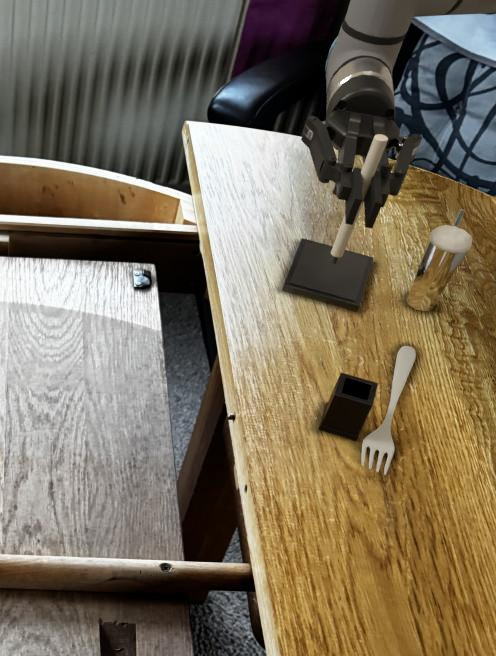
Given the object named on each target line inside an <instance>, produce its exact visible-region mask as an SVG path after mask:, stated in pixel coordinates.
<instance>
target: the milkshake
mask: <svg viewBox="0 0 496 656" xmlns="http://www.w3.org/2000/svg"><path fill="white" fill-rule="evenodd" d="M465 211H466V209H465V210H464V209H462V208H461V209H460V210H459V212H458V214H457V217H456V218H455V221H454V223H453V225H449V224H443V225H439V226H437V227H435V228H434V229H432V230H431V232H430V233H429V236H428V239H427V241H426V245H425V248H424V250H423V253H422V257H421V261H420V264H419V266H418V269H417V271H416V274H415V276H414V279H413V281H412V284H411V286H410V290H409V292H408V295H407V298H406V302H407V304H408V305H409V307H411V308H413V309H415V310H417V311H423V312H424V311H425V312H427V311H430V310H433V309H434V307H435V306H436V304H437V302H438V301H439V299H440V297H441V296H442V294H443V293H444V292H445V289H446V288H447V286H448V284H449V282H450V281H451V279H452V277H453V276H454V274H455V272H456V271H457V270H458V268H459V266H460V265H461V263H462V262H463V260H464V258H465V256H466V255H467V253H468V252H469V251H470V248H471V247H472V244H473V238H472V235H470V234H469V233H468V232H467V231H466V230H465V229H464V228H460V227H459V224H460V222H461V220H462V218H463V216H464V213H465Z"/></svg>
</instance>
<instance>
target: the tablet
mask: <svg viewBox="0 0 496 656" xmlns="http://www.w3.org/2000/svg"><path fill="white" fill-rule="evenodd" d="M332 247H333V245H329V244H325V243H322V242H317V241H315V240H312V239H307V238H303V237H301V239H300V242H299V244H298V246H297V249H296V251H295V254H294V257H293V260H292V262H291V264H290V267H289V270H288V272H287V275H286V277H285V281H284V283H283V286H282V289H281V291H282V292H286V293H290V294H294V295H297V296H300V297H304V298H307V299H311V300H314V301H319V302H322V303H325V304H329V305H331V306H336V307H339V308H343V309H346V310H350V311H353V312H359V309H360V307H361V303H362V300H363V296H364V292H365V291H366V290H365V289H366V286H367V283H368V279H369V276H370V272H371V269H372V266H373V262H374V258H375V257H373V256H370V255H366V254H363V253H358V252H355V251H352V250H347V249H345V251H344V254H343V256H342V257H339V258H338V261H337V263H336V264H333V263H331V259H332V255H331V250H332Z"/></svg>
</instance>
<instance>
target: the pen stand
mask: <svg viewBox="0 0 496 656" xmlns="http://www.w3.org/2000/svg"><path fill="white" fill-rule="evenodd" d="M378 385H379V383H378V382H376V381H372V380H369V379H365V378H362V377H358V376H356V375H355V376H354V375H352V374H348V373H345V372H340V374H339V376H338V378H337V381H336V383H335V385H334V387H333V389H332V392H331V394H330V397H329V399H328V401H326V403H325V405H324V408H323V412H322V415H321V419H320V421H319V425H318V430H320V431H323V432H325V433H328V434H332V435H335V436H338V437H342V438H345V439H348V440H352V441H355V442H357V441H358V440H359V437H360V433H361V431H362V429H363V426H364V425H365V422H366V421H367V418H368V417H369V414H370V413H371V411H372V408H373V406H374V402H375V398H376V397H375V396H376V394H377V390H378Z"/></svg>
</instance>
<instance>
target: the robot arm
mask: <svg viewBox="0 0 496 656" xmlns="http://www.w3.org/2000/svg"><path fill="white" fill-rule="evenodd" d="M459 15H488V16H492V15H496V0H350V1H349V4H348V8H347V11H346V14H345V16H344V18H343V21H342V23H341V26H340V30H339V32H338V35H337V36H336V38H335V39H334V41H333V42H332V44H331V46H330V48H329V52H328V55H327V59H326V61H325V68H324V71H325V79H326V82H325V83H326V84H325V85H326V113H325V120H323V121H321V120H320V118H318V117H317V116H315V115H309V116H307V119H306V122H305V126H304V128H303V132H302V135H301V139H300V140H301V142H302V143H303V144H304V145H305V146H306V147H307V148H308V150H309V153H310V157H311V160H312V163H313V167H314V170H315V173H316V177H317V180H318V181H319V182H320V183H321V184H329V183H330V182H333V183H334V187H333V189H332V194H333V195H334V196H336V198H337V200H340V201H344V211H345V212H344V216H345V224H349V225H353V223H354V220H355V218H356V215H357V213H358V210H359V207H360V205H361V202H362V176H361V171H362V167H356V166H355V162H356V156H360V157H361V159H362V164H363V165H364V163H365V160H366V157H367V155H368V152H369V149H370V147H371V144H372V141H373V139H374V136H375V135H377V134H382V135H385V136H386V137H387V138H388V141H387V144H386V146H385V149H384V151H383V154H382V157H381V159H380V162H379V164H378V167H377V169H376V172H375V174H374V177H373V179H372V182H371V184H370V187H369V190H368V192H367V195H366V197H365V200H364V203H363V206H364V207H363V210H364V228H367V229H373V228H374V225H375V223H376V221H377V218H378V215H379V214H380V211H381V209H382V208H384V207H385V205H386V203H387V201H388V198H389V196H393V197H396V196H398V195H399V193H400V191H401V188H402V186H403V183H404V181H405V179H406V177H407V174H408V171H409V167H410V164H411V163H412V162H413V161H414V159H415V156H416V154H417V152H418V150H419V148H420V144H421V142H422V140H423V136H422V135H420V134H418V133H412V134H410V135H409V136H408V135H404V136H402V135H401V129H400V128H399V126H398V125H396V105H395V102H396V101H395V93H394V81H393V71H394V67H395V65H396V62H397V59H398V55H399V53H400V50H401V49H402V45H403V42H404V40H405V38H406V35H407V33H408V31H409V28H410V26H411V23H412V21H413V19H414V18H419V17H440V16H459ZM394 148H395V149H394ZM392 149H394V151H395V153H396V155H395V159H396V161H395V164H391V163H390V161H389V156H388V153H387V152H388V151H390V150H392ZM335 150H336V151H337V155H336V151H335ZM363 165H362V166H363Z"/></svg>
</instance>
